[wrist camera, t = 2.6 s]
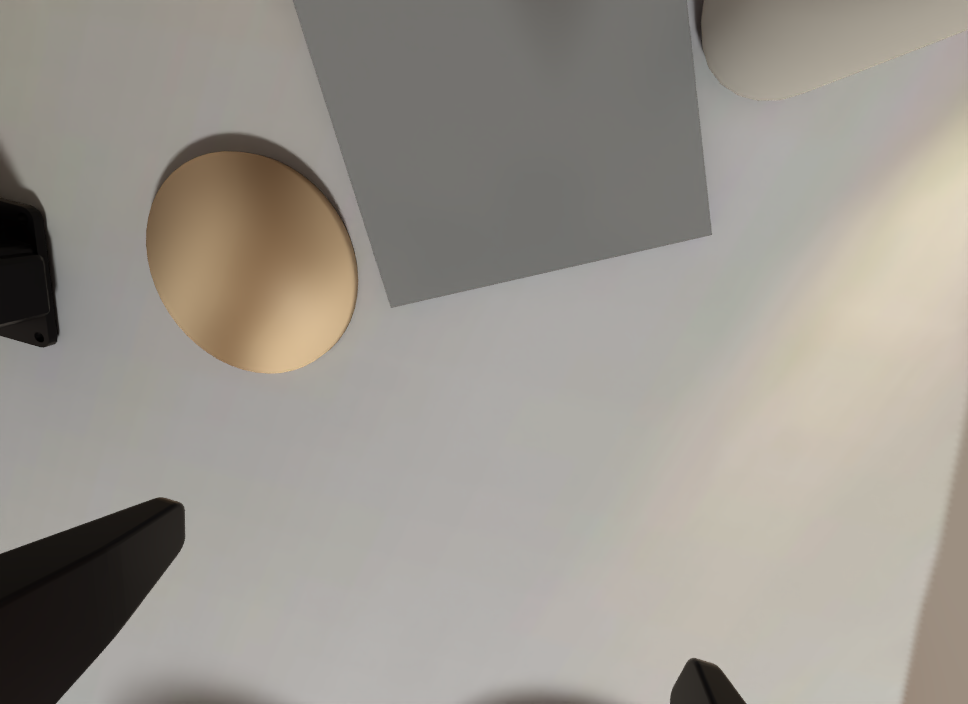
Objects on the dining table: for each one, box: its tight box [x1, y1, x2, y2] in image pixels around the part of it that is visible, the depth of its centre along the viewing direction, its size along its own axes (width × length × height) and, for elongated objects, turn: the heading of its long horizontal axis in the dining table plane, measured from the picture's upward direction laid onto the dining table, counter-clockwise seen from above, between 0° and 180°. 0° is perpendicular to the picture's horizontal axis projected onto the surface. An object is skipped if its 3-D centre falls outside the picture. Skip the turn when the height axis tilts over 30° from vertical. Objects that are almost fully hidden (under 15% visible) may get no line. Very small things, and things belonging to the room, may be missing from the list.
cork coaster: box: [146, 151, 358, 373], centre depth 19 cm, size 9×9×1 cm
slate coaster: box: [293, 0, 712, 308], centre depth 16 cm, size 12×12×1 cm
